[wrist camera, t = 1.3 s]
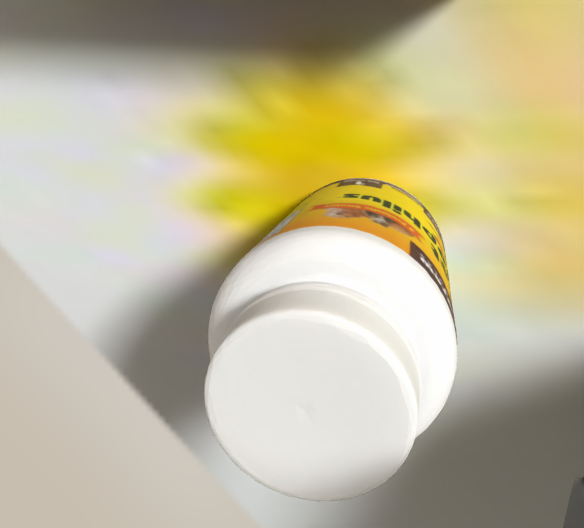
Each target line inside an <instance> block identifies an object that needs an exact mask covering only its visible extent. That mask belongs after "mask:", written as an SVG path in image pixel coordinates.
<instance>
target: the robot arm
mask: <svg viewBox="0 0 584 528" xmlns="http://www.w3.org/2000/svg"><path fill="white" fill-rule="evenodd" d="M564 528H584V476H580V477H578V478H577V479H576V480H575V482H574V484H573V488H572V492H571V496H570V501H569V505H568V509H567V513H566V517H565V521H564Z"/></svg>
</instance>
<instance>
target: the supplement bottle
mask: <svg viewBox="0 0 584 528" xmlns="http://www.w3.org/2000/svg"><path fill="white" fill-rule="evenodd" d="M208 345H209V355H210V363H209V366H208V368H207V373H206V377H205V384H204V402H205V409H206V414H207V418H208V421H209V423H210V426H211V428H212V431H213V433H214V435H215V437H216V439H217V441H218V442H219V444H220V445H221V447H222V449H223V450H224V451H225V453H226V454H227V455H228V456H229V457H230V459H231V460H232V461H233V462H234V463H235V464H236V465H237V466H238V467H239V468H240V469H241V470H242V471H244V472H245V473H246V474H248V475H249V476H250V477H252V478H253V479H254V480H256V481H257V482H259V483H261V484H263V485H264V486H266V487H268V488H270V489H272V490H275V491H277V492H280V493H282V494H285V495H288V496H292V497H295V498H300V499H306V500H313V501H335V500H343V499H348V498H352V497H356V496H359V495H362V494H365V493H367V492H369V491H371V490H373V489H375V488H377V487H379V486H380V485H381V484H383V483H384V482H385V481H387V480H388V479H389V478H390V477H391V476H393V474H394V473H395V472H396V471H397V470H398V469H399V468H400V467H401V465H402V464H403V463H404V461H405V460H406V458H407V456H408V454H409V452H410V450H411V448H412V446H413V443H414V440H415V438H416V437H417V436H419V435H420V434H421V433H422V432H423V431H424V430H426V429H427V428H428V426H429V425H430V424H431V423H432V422H433V420H434V419H435V418H436V417H437V415H438V414H439V413H440V411H441V409H442V408H443V406H444V405H445V403H446V400H447V398H448V396H449V393H450V391H451V388H452V385H453V381H454V377H455V372H456V366H457V336H456V327H455V321H454V314H453V308H452V301H451V293H450V285H449V277H448V270H447V262H446V255H445V249H444V244H443V240H442V236H441V233H440V231H439V228H438V226H437V224H436V222H435V220H434V219H433V217H432V215H431V214H430V213H429V211H428V210H427V209H426V208H425V206H424V205H423V204H422V203H421V202H420V201H419V200H418V199H417V198H415V197H414V196H413V195H411V194H410V193H408V192H407V191H405V190H404V189H402V188H400V187H398V186H396V185H394V184H391V183H388V182H385V181H381V180H376V179H369V178H350V179H345V180H340V181H337V182H334V183H331V184H329V185H326V186H324V187H322V188H320V189H318V190H317V191H315V192H313V193H312V194H311V195H309V196H308V197H307V198H306V199H305V200H304V201H303V202H301V203H300V204H299V205H298V206H297V207H296V208H295V209H294V210H293V211H292V212H291V213H290V214H289V215H288V216H287V217H286V218H285V219H284V220H282V221H281V222H280V223H279V224H278V225H277V226H276V227H275V228H274V229H273V230H272V231H271V232H270V233H269V234H268V235H267V236H265V237H264V238H263V239H262V240H261V241H260V242H259V243H258V244H256V245H255V246H254V247H253V248H252V249H251V250H250V251H249V252H248V253H247V254H245V255H244V256H243V257H242V259H241V260H240V261H239V262H238V263H237V264H236V265H235V267H234V268H233V269H232V270H231V272H230V273H229V274H228V276H227V277H226V278H225V280H224V282H223V283H222V285H221V287H220V289H219V291H218V293H217V295H216V298H215V300H214V302H213V306H212V309H211V314H210V319H209V328H208Z"/></svg>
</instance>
